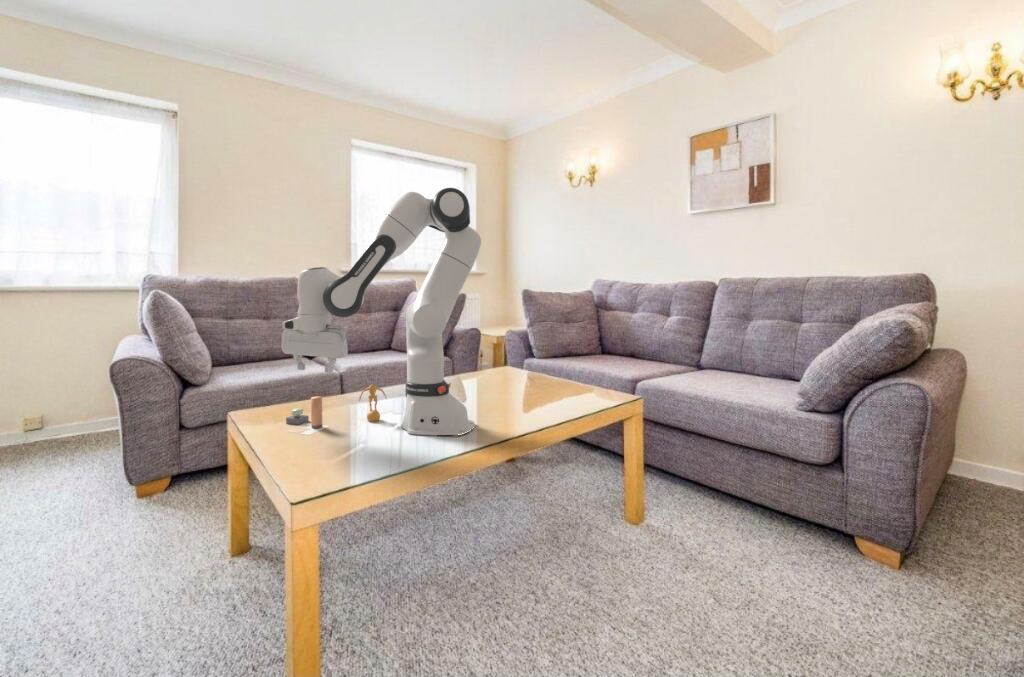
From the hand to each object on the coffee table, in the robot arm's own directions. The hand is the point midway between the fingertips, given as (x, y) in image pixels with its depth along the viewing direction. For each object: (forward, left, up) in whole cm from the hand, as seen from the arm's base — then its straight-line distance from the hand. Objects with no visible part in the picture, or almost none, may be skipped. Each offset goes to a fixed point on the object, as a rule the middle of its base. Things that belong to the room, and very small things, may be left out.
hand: (314, 371), depth 135 cm
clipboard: (+4, +1, -18) cm, 18 cm away
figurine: (-11, -13, -18) cm, 25 cm away
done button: (+9, -2, -16) cm, 18 cm away
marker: (0, 0, -17) cm, 17 cm away
